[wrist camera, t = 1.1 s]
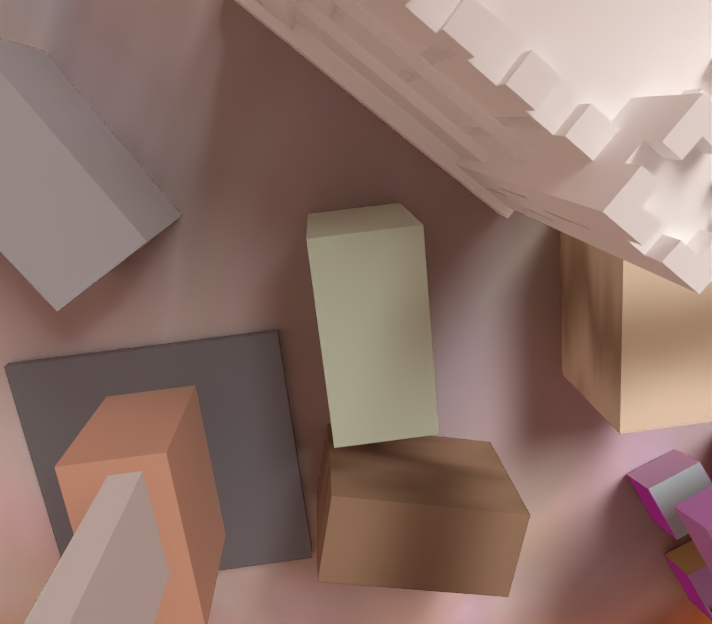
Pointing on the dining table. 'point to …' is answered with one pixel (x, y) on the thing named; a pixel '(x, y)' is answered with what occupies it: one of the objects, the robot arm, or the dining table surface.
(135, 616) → the robot arm
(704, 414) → the maple brick
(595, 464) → the dining table surface
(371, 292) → the sage brick
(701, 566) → the toy
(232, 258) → the dining table surface
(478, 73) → the castle model
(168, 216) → the grey brick
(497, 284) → the dining table surface
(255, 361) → the felt mat
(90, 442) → the terracotta brick
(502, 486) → the walnut brick
